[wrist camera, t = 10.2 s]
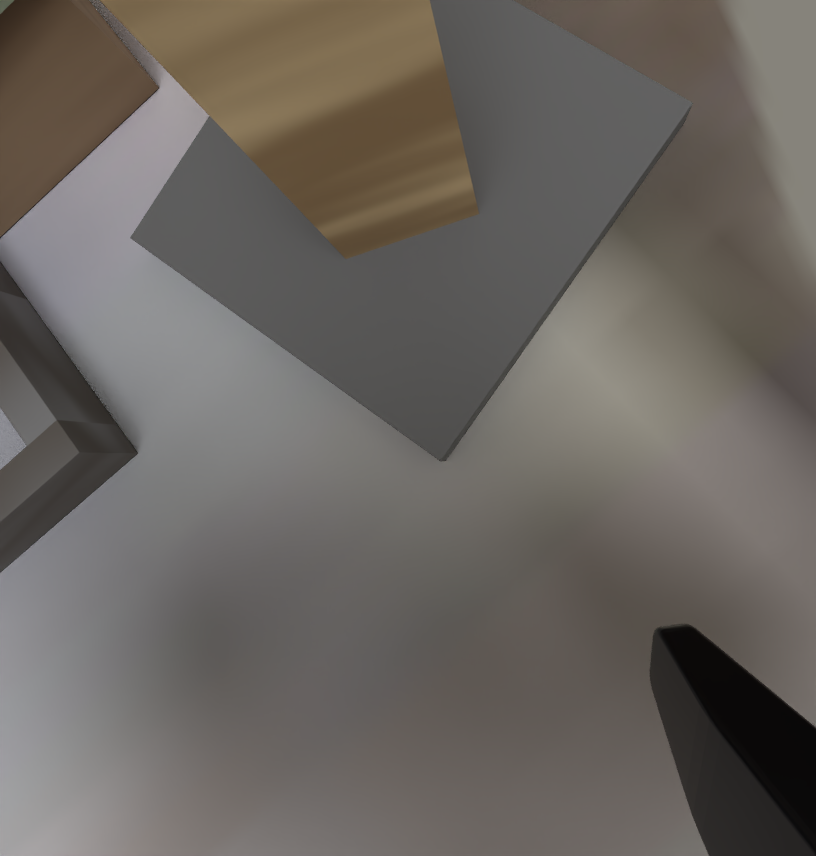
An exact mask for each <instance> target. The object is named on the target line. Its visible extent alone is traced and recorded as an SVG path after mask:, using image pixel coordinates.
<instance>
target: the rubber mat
mask: <svg viewBox="0 0 816 856" xmlns="http://www.w3.org/2000/svg"><path fill="white" fill-rule="evenodd" d="M430 4H431V8H432V13H433V17H434V21H435V25H436V30H437V34H438V38H439V43H440V47H441V51H442V56H443V60H444V64H445V69H446V73H447V77H448V82H449V86H450V90H451V95H452V99H453V103H454V108H455V112H456V116H457V121H458V125H459V129H460V134H461V138H462V142H463V146H464V151H465V155H466V159H467V164H468V168H469V172H470V177H471V181H472V185H473V190H474V194H475V198H476V203H477V207H478V211H479V214H477V215H475V216H472V217H469V218H466V219H463V220H460V221H457V222H454V223H451V224H448V225H445V226H442V227H439V228H436V229H433V230H430V231H427V232H424V233H421V234H419V235H416V236H413V237H410V238H407V239H404V240H401V241H398V242H395V243H392V244H389V245H386V246H383V247H380V248H377V249H374V250H371V251H368V252H365V253H363V254H360V255H357V256H354V257H351V258H348V259H345V258H344V257H343V256H342V254H341V253H340V252H339V251H338V250H337V249H336V248H335V247H334V246H333V245H332V244H331V243H330V242H329V241H328V240H327V239H326V238H325V237H324V236H323V234H322V233H321V232H320V231H319V230H318V229H317V228H316V227H315V226H314V225H313V224H312V223H311V222H310V221H309V220H308V219H307V218H306V217H305V216H304V215H303V213H302V212H301V211H300V210H299V209H298V208H297V207H296V206H295V205H294V204H293V203H292V202H291V201H290V200H289V199H288V198H287V197H286V196H285V195H284V193H283V192H282V191H281V190H280V189H279V188H278V187H277V186H276V185H275V184H274V183H273V182H272V181H271V180H270V179H269V178H268V177H267V176H266V175H265V174H264V172H263V171H262V170H261V169H260V168H259V167H258V166H257V165H256V164H255V163H254V162H253V161H252V160H251V159H250V158H249V157H248V156H247V155H246V154H245V152H244V151H243V150H242V149H241V148H240V147H239V146H238V145H237V144H236V143H235V142H234V141H233V140H232V139H231V138H230V137H229V136H228V135H227V134H226V132H225V131H224V130H223V129H222V128H221V127H220V126H219V125H218V124H217V123H216V122H215V121H214V120H213V119H212V118H211V117H210V116H209V118H208V119H207V121H206V123H205V124H204V126H203V127H202V129H201V130H200V132H199V133H198V135H197V136H196V138H195V139H194V141H193V142H192V144H191V146H190V147H189V149H188V150H187V152H186V153H185V155H184V156H183V158H182V159H181V161H180V162H179V164H178V165H177V167H176V169H175V170H174V172H173V173H172V175H171V176H170V178H169V179H168V181H167V182H166V184H165V185H164V187H163V188H162V190H161V192H160V193H159V195H158V196H157V198H156V199H155V201H154V202H153V204H152V205H151V207H150V208H149V210H148V211H147V213H146V215H145V216H144V218H143V219H142V221H141V222H140V224H139V225H138V227H137V228H136V230H135V231H134V233H133V234H132V236H131V239H132V240H134V241H135V242H137V243H138V244H139V245H141V246H142V247H144V248H145V249H146V250H148V251H149V252H150V253H152V254H153V255H155V256H156V257H157V258H159V259H160V260H162V261H163V262H164V263H166V264H167V265H169V266H170V267H171V268H173V269H174V270H175V271H177V272H178V273H180V274H181V275H182V276H184V277H185V278H187V279H188V280H189V281H191V282H192V283H194V284H195V285H196V286H198V287H199V288H200V289H202V290H203V291H205V292H206V293H207V294H209V295H210V296H212V297H213V298H214V299H216V300H217V301H219V302H220V303H221V304H223V305H224V306H225V307H227V308H228V309H230V310H231V311H232V312H234V313H235V314H237V315H238V316H239V317H241V318H242V319H244V320H245V321H246V322H248V323H249V324H251V325H252V326H253V327H255V328H256V329H257V330H259V331H260V332H262V333H263V334H264V335H266V336H267V337H269V338H270V339H271V340H273V341H274V342H276V343H277V344H278V345H280V346H281V347H282V348H284V349H285V350H287V351H288V352H289V353H291V354H292V355H294V356H295V357H296V358H298V359H299V360H301V361H302V362H303V363H305V364H306V365H307V366H309V367H310V368H312V369H313V370H314V371H316V372H317V373H319V374H320V375H321V376H323V377H324V378H326V379H327V380H328V381H330V382H331V383H332V384H334V385H335V386H337V387H338V388H339V389H341V390H342V391H344V392H345V393H346V394H348V395H349V396H351V397H352V398H353V399H355V400H356V401H357V402H359V403H360V404H362V405H363V406H364V407H366V408H367V409H369V410H370V411H371V412H373V413H374V414H376V415H377V416H378V417H380V418H381V419H382V420H384V421H385V422H387V423H388V424H389V425H391V426H392V427H394V428H395V429H396V430H398V431H399V432H401V433H402V434H403V435H405V436H406V437H407V438H409V439H410V440H412V441H413V442H414V443H416V444H417V445H419V446H420V447H421V448H423V449H424V450H426V451H427V452H428V453H430V454H431V455H433V456H434V457H435V458H437V459H438V460H439V461H446V459H447V458H448V457H449V455H450V454H451V452H452V451H453V450H454V448H455V447H456V445H457V444H458V442H459V441H460V440H461V438H462V437H463V435H464V434H465V433H466V431H467V430H468V428H469V427H470V425H471V424H472V423H473V421H474V420H475V418H476V417H477V416H478V414H479V413H480V411H481V410H482V408H483V407H484V406H485V404H486V403H487V401H488V400H489V399H490V397H491V396H492V394H493V393H494V391H495V390H496V389H497V387H498V386H499V384H500V383H501V382H502V380H503V379H504V377H505V376H506V375H507V373H508V372H509V370H510V369H511V367H512V366H513V365H514V363H515V362H516V360H517V359H518V358H519V356H520V355H521V353H522V352H523V350H524V349H525V348H526V346H527V345H528V343H529V342H530V341H531V339H532V338H533V336H534V335H535V333H536V332H537V331H538V329H539V328H540V326H541V325H542V324H543V322H544V321H545V319H546V318H547V316H548V315H549V314H550V312H551V311H552V309H553V308H554V307H555V305H556V304H557V302H558V301H559V299H560V298H561V297H562V295H563V294H564V292H565V291H566V290H567V288H568V287H569V285H570V284H571V282H572V281H573V280H574V278H575V277H576V275H577V274H578V273H579V271H580V270H581V268H582V267H583V266H584V264H585V263H586V261H587V260H588V258H589V257H590V256H591V254H592V253H593V251H594V250H595V249H596V247H597V246H598V244H599V243H600V241H601V240H602V239H603V237H604V236H605V234H606V233H607V232H608V230H609V229H610V227H611V226H612V224H613V223H614V222H615V220H616V219H617V217H618V216H619V215H620V213H621V212H622V210H623V209H624V207H625V206H626V205H627V203H628V202H629V200H630V199H631V198H632V196H633V195H634V193H635V192H636V190H637V189H638V188H639V186H640V185H641V183H642V182H643V181H644V179H645V178H646V176H647V175H648V173H649V172H650V171H651V169H652V168H653V166H654V165H655V164H656V162H657V161H658V159H659V158H660V157H661V155H662V154H663V152H664V151H665V149H666V148H667V147H668V145H669V144H670V142H671V141H672V140H673V138H674V137H675V135H676V134H677V132H678V131H679V130H680V128H681V127H682V125H683V124H684V122H685V120H686V117H687V115H688V113H689V111H690V108H691V106H692V104H693V103H692V102H690V101H688V100H687V99H685V98H683V97H681V96H680V95H678V94H676V93H674V92H673V91H671V90H669V89H667V88H666V87H664V86H662V85H660V84H659V83H657V82H655V81H653V80H652V79H650V78H648V77H646V76H645V75H643V74H641V73H639V72H638V71H636V70H634V69H632V68H631V67H629V66H627V65H625V64H624V63H622V62H620V61H618V60H617V59H615V58H613V57H611V56H610V55H608V54H606V53H604V52H603V51H601V50H599V49H597V48H596V47H594V46H592V45H590V44H589V43H587V42H585V41H583V40H582V39H580V38H578V37H576V36H575V35H573V34H571V33H569V32H568V31H566V30H564V29H562V28H561V27H559V26H557V25H555V24H554V23H552V22H550V21H548V20H547V19H545V18H543V17H541V16H540V15H538V14H536V13H534V12H533V11H531V10H529V9H527V8H526V7H524V6H522V5H520V4H519V3H517V2H515V1H513V0H430Z"/></svg>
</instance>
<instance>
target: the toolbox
mask: <svg viewBox="0 0 816 856" xmlns="http://www.w3.org/2000/svg"><path fill="white" fill-rule="evenodd" d="M158 88H159V87H158V86H157V85H156V83H155V82H154V81H153V80H152V78H151V77H150V76H149V75H148V73H147V72H146V71H145V70H144V68H143V67H142V66H141V65H140V64H139V62H138V61H137V60H136V59H135V57H134V56H133V55H132V54H131V52H130V51H129V50H128V49H127V47H126V46H125V45H124V44H123V42H122V41H121V40H120V39H119V37H118V36H117V35H116V34H115V32H114V31H113V30H112V29H111V27H110V26H109V25H108V24H107V22H106V21H105V20H104V19H103V17H102V16H101V15H100V14H99V12H98V11H97V10H96V9H95V7H94V6H93V5H92V4H91V2H90V1H89V0H0V237H1V236H2V235H3V234H4V233H5V232H6V231H7V230H8V229H9V228H11V227H12V226H13V225H14V224H15V223H16V222H17V221H18V220H19V219H20V218H21V217H22V216H23V215H24V214H25V213H26V212H28V211H29V210H30V209H31V208H32V207H33V206H34V205H35V204H36V203H37V202H38V201H39V200H40V199H41V198H42V197H43V196H45V195H46V194H47V193H48V192H49V191H50V190H51V189H52V188H53V187H54V186H55V185H56V184H57V183H58V182H59V181H60V180H62V179H63V178H64V177H65V176H66V175H67V174H68V173H69V172H70V171H71V170H72V169H73V168H74V167H75V166H76V165H78V164H79V163H80V162H81V161H82V160H83V159H84V158H85V157H86V156H87V155H88V154H89V153H90V152H91V151H92V150H93V149H95V148H96V147H97V146H98V145H99V144H100V143H101V142H102V141H103V140H104V139H105V138H106V137H107V136H108V135H109V134H110V133H112V132H113V131H114V130H115V129H116V128H117V127H118V126H119V125H120V124H121V123H122V122H123V121H124V120H125V119H126V118H127V117H129V116H130V115H131V114H132V113H133V112H134V111H135V110H136V109H137V108H138V107H139V106H140V105H141V104H142V103H143V102H144V101H146V100H147V99H148V98H149V97H150V96H151V95H152V94H153V93H154V92H155V91H156V90H157V89H158ZM0 408H1V409H2V411H3V412H4V414H5V415H6V417H7V418H8V419H9V421H10V422H11V424H12V425H13V427H14V428H15V430H16V431H17V432H18V434H19V435H20V437H21V438H22V440H23V441H24V443H25V444H26V445H27V447H26V448H25V449H23V450H22V451H21V452H20V453H19V454H18V455H17V456H16V457H14V458H13V459H12V460H11V461H10V462H9V463H8V464H7V465H5V466H4V467H3V468H2V469H1V470H0V572H1V571H2V570H4V569H5V568H6V567H7V566H8V565H9V564H10V563H12V562H13V561H14V560H15V559H16V558H17V557H19V556H20V555H21V554H22V553H23V552H24V551H25V550H27V549H28V548H29V547H30V546H31V545H32V544H34V543H35V542H36V541H37V540H38V539H39V538H40V537H42V536H43V535H44V534H45V533H46V532H47V531H49V530H50V529H51V528H52V527H53V526H54V525H55V524H57V523H58V522H59V521H60V520H61V519H62V518H64V517H65V516H66V515H67V514H68V513H69V512H70V511H72V510H73V509H74V508H75V507H76V506H77V505H79V504H80V503H81V502H82V501H83V500H84V499H86V498H87V497H88V496H89V495H90V494H91V493H92V492H94V491H95V490H96V489H97V488H98V487H99V486H101V485H102V484H103V483H104V482H105V481H106V480H107V479H109V478H110V477H111V476H112V475H113V474H114V473H116V472H117V471H118V470H119V469H120V468H121V467H122V466H124V465H125V464H126V463H127V462H128V461H129V460H131V459H132V458H133V457H134V456H135V455H136V454H137V452H136V450H135V449H134V448H133V446H132V445H131V443H130V442H129V441H128V439H127V438H126V436H125V435H124V434H123V432H122V431H121V429H120V428H119V427H118V425H117V424H116V423H115V421H114V420H113V418H112V417H111V416H110V414H109V413H108V411H107V410H106V409H105V407H104V406H103V404H102V403H101V402H100V400H99V399H98V398H97V396H96V395H95V393H94V392H93V391H92V389H91V388H90V386H89V385H88V384H87V382H86V381H85V379H84V378H83V377H82V375H81V374H80V373H79V371H78V370H77V368H76V367H75V366H74V364H73V363H72V361H71V360H70V359H69V357H68V356H67V354H66V353H65V352H64V350H63V349H62V348H61V346H60V345H59V343H58V342H57V341H56V339H55V338H54V336H53V335H52V334H51V332H50V331H49V330H48V328H47V327H46V325H45V324H44V323H43V321H42V320H41V318H40V317H39V316H38V314H37V313H36V311H35V310H34V309H33V307H32V306H31V305H30V303H29V302H28V300H27V299H26V298H25V296H24V295H23V293H22V292H21V291H20V289H19V288H18V286H17V285H16V284H15V282H14V281H13V280H12V278H11V277H10V275H9V274H8V273H7V271H6V270H5V268H4V267H3V266H2V264H1V263H0Z"/></svg>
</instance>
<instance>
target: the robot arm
mask: <svg viewBox="0 0 816 856" xmlns="http://www.w3.org/2000/svg"><path fill="white" fill-rule="evenodd" d="M650 681H651V686H652V690H653V694H654V697H655V700H656V703H657V707H658V710H659V713H660V716H661V719H662V722H663V725H664V729H665V732H666V735H667V738H668V741H669V744H670V748H671V751H672V754H673V757H674V760H675V763H676V767H677V770H678V773H679V776H680V779H681V782H682V786H683V789H684V792H685V795H686V798H687V801H688V804H689V807H690V810H691V813H692V816H693V818H694V821H695V823H696V826H697V828H698V831H699V833H700V836H701V838H702V840H703V843H704V845H705V847H706V849H707V852H708V854H709V856H816V727H815V726H813V725H812V724H811V723H810V722H808V721H807V720H806V719H805V718H804V717H802V716H801V715H800V714H799V713H798V712H796V711H795V710H794V709H793V708H792V707H790V706H789V705H788V704H787V703H785V702H784V701H783V700H782V699H781V698H779V697H778V696H777V695H776V694H775V693H773V692H772V691H771V690H770V689H768V688H767V687H766V686H765V685H764V684H762V683H761V682H760V681H759V680H758V679H756V678H755V677H754V676H753V675H752V674H750V673H749V672H748V671H747V670H745V669H744V668H743V667H742V666H741V665H739V664H738V663H737V662H736V661H735V660H733V659H732V658H731V657H730V656H728V655H727V654H726V653H725V652H724V651H722V650H721V649H720V648H719V647H718V646H716V645H715V644H714V643H713V642H712V641H710V640H709V639H708V638H707V637H705V636H704V635H703V634H702V633H701V632H699V631H698V630H697V629H696V628H694V627H693V626H691V625H688V624H678V625H671V626H663V627H659V628H657V629H656V630H655V632H654V634H653V642H652V652H651V662H650Z"/></svg>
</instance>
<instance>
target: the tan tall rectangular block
mask: <svg viewBox="0 0 816 856" xmlns="http://www.w3.org/2000/svg"><path fill="white" fill-rule="evenodd" d="M100 1H101V2H102V3H103V4H104V5H105V6H106V7H107V8H108V9H109V11H110V12H111V13H112V14H113V15H114V16H115V17H116V18H117V19H118V20H119V21H120V22H121V23H122V24H123V25H124V26H125V27H126V28H127V29H128V31H129V32H130V33H131V34H132V35H133V36H134V37H135V38H136V39H137V40H138V41H139V42H140V43H141V44H142V45H143V46H144V47H145V48H146V49H147V50H148V52H149V53H150V54H151V55H152V56H153V57H154V58H155V59H156V60H157V61H158V62H159V63H160V64H161V65H162V66H163V67H164V68H165V69H166V70H167V72H168V73H169V74H170V75H171V76H172V77H173V78H174V79H175V80H176V81H177V82H178V83H179V84H180V85H181V86H182V87H183V88H184V89H185V90H186V91H187V93H188V94H189V95H190V96H191V97H192V98H193V99H194V100H195V101H196V102H197V103H198V104H199V105H200V106H201V107H202V108H203V109H204V110H205V111H206V113H207V114H208V115H209V116H210V117H211V118H212V119H213V120H214V121H215V122H216V123H217V124H218V125H219V126H220V127H221V128H222V129H223V130H224V131H225V132H226V134H227V135H228V136H229V137H230V138H231V139H232V140H233V141H234V142H235V143H236V144H237V145H238V146H239V147H240V148H241V149H242V150H243V151H244V152H245V154H246V155H247V156H248V157H249V158H250V159H251V160H252V161H253V162H254V163H255V164H256V165H257V166H258V167H259V168H260V169H261V170H262V171H263V172H264V174H265V175H266V176H267V177H268V178H269V179H270V180H271V181H272V182H273V183H274V184H275V185H276V186H277V187H278V188H279V189H280V190H281V191H282V192H283V193H284V195H285V196H286V197H287V198H288V199H289V200H290V201H291V202H292V203H293V204H294V205H295V206H296V207H297V208H298V209H299V210H300V211H301V212H302V213H303V215H304V216H305V217H306V218H307V219H308V220H309V221H310V222H311V223H312V224H313V225H314V226H315V227H316V228H317V229H318V230H319V231H320V232H321V233H322V234H323V236H324V237H325V238H326V239H327V240H328V241H329V242H330V243H331V244H332V245H333V246H334V247H335V248H336V249H337V250H338V251H339V252H340V253H341V254H342V256H343V257H344V258H345V259H348V258H351V257H354V256H357V255H360V254H363V253H365V252H368V251H371V250H374V249H377V248H380V247H383V246H386V245H389V244H392V243H395V242H398V241H401V240H404V239H407V238H410V237H413V236H416V235H419V234H421V233H424V232H427V231H430V230H433V229H436V228H439V227H442V226H445V225H448V224H451V223H454V222H457V221H460V220H463V219H466V218H469V217H472V216H475V215H477V214H479V211H478V207H477V203H476V198H475V194H474V190H473V185H472V181H471V177H470V172H469V168H468V164H467V159H466V155H465V151H464V146H463V142H462V138H461V134H460V129H459V125H458V121H457V116H456V112H455V108H454V103H453V99H452V95H451V90H450V86H449V82H448V77H447V73H446V69H445V64H444V60H443V56H442V51H441V47H440V43H439V38H438V34H437V30H436V25H435V21H434V17H433V13H432V8H431V4H430V0H100Z"/></svg>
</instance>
